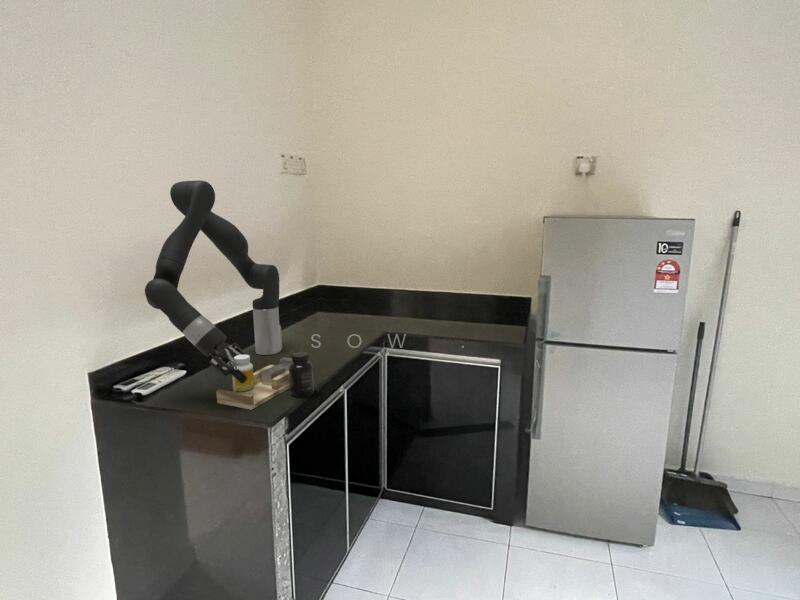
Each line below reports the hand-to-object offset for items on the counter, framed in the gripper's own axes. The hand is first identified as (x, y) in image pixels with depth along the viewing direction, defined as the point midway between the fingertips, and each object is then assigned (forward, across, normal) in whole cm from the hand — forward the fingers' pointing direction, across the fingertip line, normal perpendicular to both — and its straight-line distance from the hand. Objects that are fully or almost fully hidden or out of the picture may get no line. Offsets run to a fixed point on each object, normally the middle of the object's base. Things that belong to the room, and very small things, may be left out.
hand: (249, 376), depth 134 cm
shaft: (+7, +15, +1) cm, 16 cm away
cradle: (+6, +6, +4) cm, 10 cm away
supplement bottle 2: (+15, +6, -4) cm, 16 cm away
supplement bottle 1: (+2, 0, +4) cm, 5 cm away
